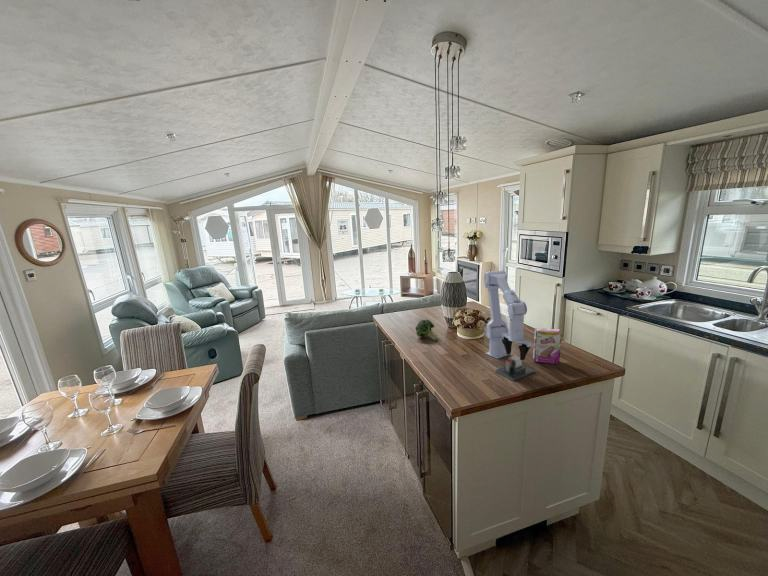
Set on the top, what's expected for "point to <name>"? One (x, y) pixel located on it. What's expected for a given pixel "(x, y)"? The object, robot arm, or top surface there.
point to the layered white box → (515, 362)
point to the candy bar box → (547, 345)
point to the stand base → (514, 371)
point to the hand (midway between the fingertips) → (515, 356)
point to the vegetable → (425, 329)
